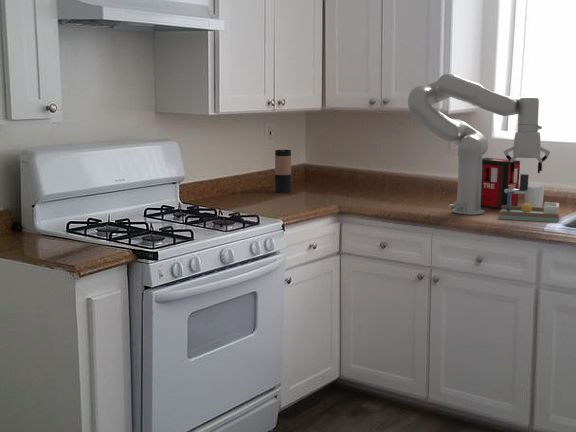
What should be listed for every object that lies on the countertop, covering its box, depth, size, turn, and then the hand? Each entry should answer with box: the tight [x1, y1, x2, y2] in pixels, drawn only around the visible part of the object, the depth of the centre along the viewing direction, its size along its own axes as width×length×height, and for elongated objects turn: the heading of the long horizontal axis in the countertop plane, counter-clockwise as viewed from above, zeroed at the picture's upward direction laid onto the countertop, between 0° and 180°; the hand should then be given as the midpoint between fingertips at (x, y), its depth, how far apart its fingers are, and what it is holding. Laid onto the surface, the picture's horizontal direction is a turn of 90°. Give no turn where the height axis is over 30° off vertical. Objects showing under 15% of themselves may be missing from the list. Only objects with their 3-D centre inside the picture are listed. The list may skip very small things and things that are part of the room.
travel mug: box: [274, 149, 292, 194], centre depth 377 cm, size 8×8×20 cm
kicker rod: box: [504, 173, 530, 211], centre depth 314 cm, size 9×6×15 cm
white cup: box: [524, 184, 545, 207], centre depth 331 cm, size 8×8×10 cm
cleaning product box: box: [481, 157, 521, 210], centre depth 338 cm, size 16×9×20 cm, turn 43°
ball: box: [521, 202, 532, 213], centre depth 313 cm, size 4×4×4 cm
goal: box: [543, 201, 560, 215], centre depth 311 cm, size 6×11×4 cm, turn 161°
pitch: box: [498, 205, 560, 223], centre depth 313 cm, size 22×16×3 cm
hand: (525, 172), depth 311 cm, fingers open, 9 cm apart
